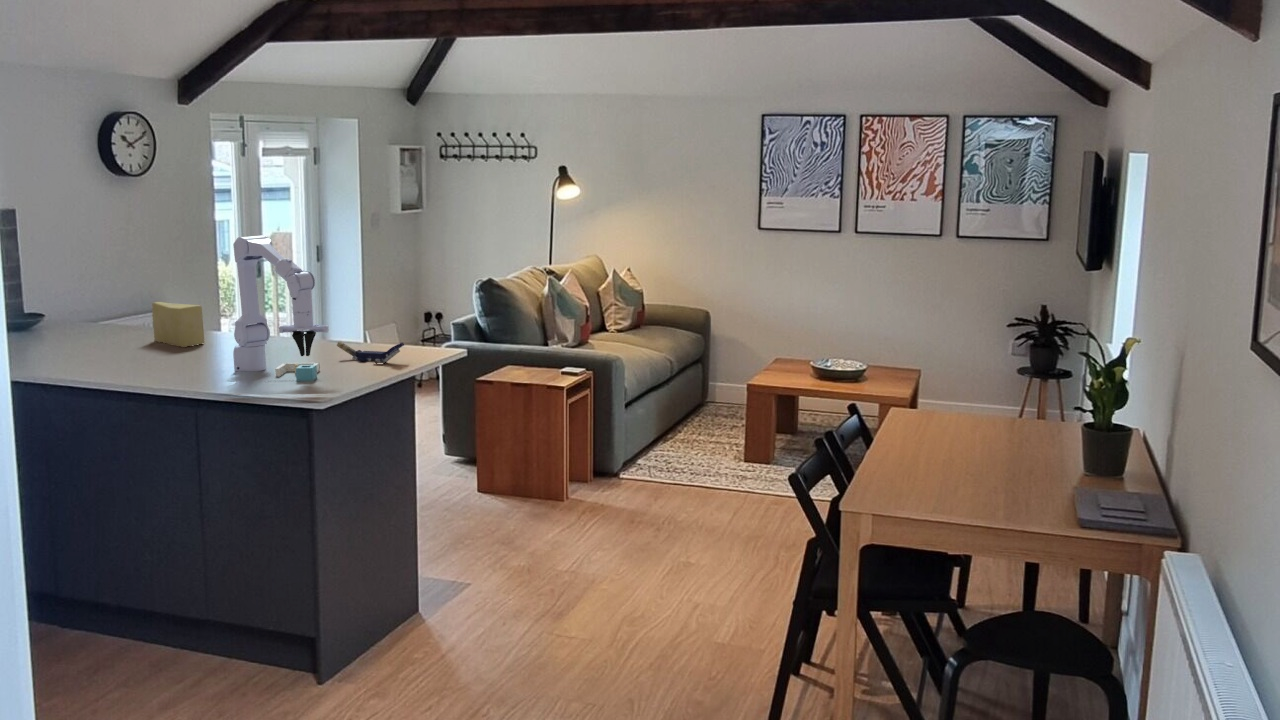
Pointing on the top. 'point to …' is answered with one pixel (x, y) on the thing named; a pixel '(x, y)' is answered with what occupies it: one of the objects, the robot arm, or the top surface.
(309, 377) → the blue square hollow block
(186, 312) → the cheese
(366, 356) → the toy
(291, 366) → the white u-shaped piece
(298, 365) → the board
